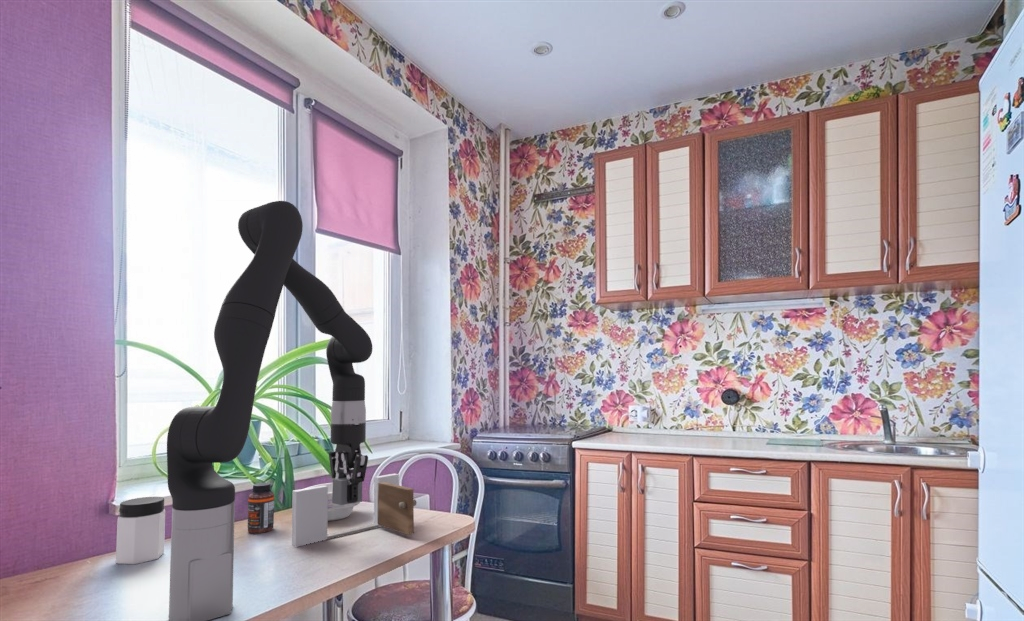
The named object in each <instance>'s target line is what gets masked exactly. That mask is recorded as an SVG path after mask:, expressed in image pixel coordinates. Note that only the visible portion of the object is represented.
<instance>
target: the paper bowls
mask: <svg viewBox="0 0 1024 621" xmlns="http://www.w3.org/2000/svg"><path fill="white" fill-rule="evenodd" d="M323 485H324V486H328V511H327V522H331V521H332V522H333V521H338V520H342V519H345V518H347V517H349V516H350V515H351V514H352V512H353V510H354V507H355V506H358V505H359V504H360V503H361V502H357V503H351V504H345V505H339V504H335V503H332V492H333V482H328V483H327V482H326V483H320V484H316V485H311V486H308V487H307V486H306V488H311V487H317V486H323Z"/></svg>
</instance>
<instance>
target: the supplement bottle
mask: <svg viewBox="0 0 1024 621" xmlns="http://www.w3.org/2000/svg"><path fill="white" fill-rule="evenodd" d="M247 503H248V504H247V532H248V533H250V534H264V533H268V532H271V531H272V530H274V522H275V521H274V520H275V518H274V517H275V515H274V513H275V493H274V491H272V490H271V483H270V482H257V483H254V484H253V485H252V492H251V493H250V494H249V495H248V501H247ZM263 532H264V533H263Z"/></svg>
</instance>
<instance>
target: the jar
mask: <svg viewBox="0 0 1024 621" xmlns="http://www.w3.org/2000/svg"><path fill="white" fill-rule="evenodd" d="M118 509H119V510H118V512H119V516H118V517H117V520H116V521H117V522H116V544H115V546H116V547H115V548H116V549H115V563H116V564H119V565H120V564H121V565H137V564H138V565H139V564H142V563H145V562H146V563H148V562H150V561H154V560H155V561H156V560H159V558H160V557H161V556H162V555H163V554H164V552H165V535H166V534H165V533H166V532H165V531H166V509H165V497H163V496H143V497H136V498H131V499H126V500H124V501H122V502H120V503H119V508H118Z"/></svg>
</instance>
